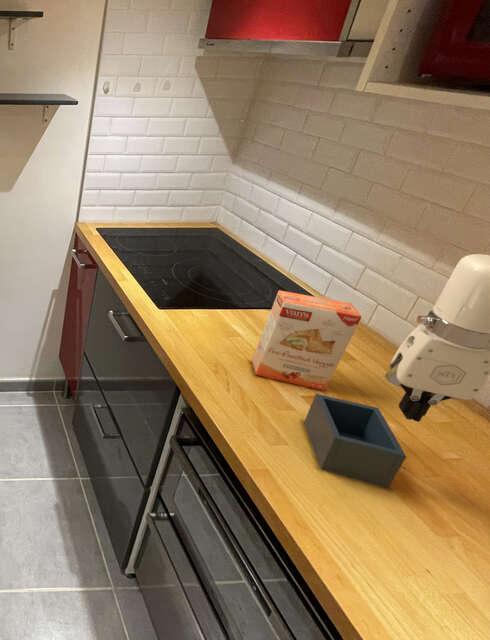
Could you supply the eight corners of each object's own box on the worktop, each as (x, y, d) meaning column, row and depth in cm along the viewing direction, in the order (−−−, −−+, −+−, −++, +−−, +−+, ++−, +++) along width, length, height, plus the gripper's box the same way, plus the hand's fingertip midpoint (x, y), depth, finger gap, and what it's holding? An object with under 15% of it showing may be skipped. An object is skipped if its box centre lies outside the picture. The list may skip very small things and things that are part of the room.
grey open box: (378, 407, 86) (315, 393, 90) (406, 456, 76) (335, 437, 80) (363, 438, 89) (303, 422, 93) (388, 488, 79) (320, 469, 83)
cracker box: (255, 376, 105) (284, 301, 96) (250, 361, 110) (277, 288, 102) (326, 393, 100) (363, 315, 92) (318, 376, 106) (352, 301, 97)
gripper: (410, 330, 71) (364, 416, 78) (539, 356, 65) (477, 445, 73) (390, 307, 77) (349, 388, 85) (506, 328, 72) (452, 413, 79)
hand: (408, 414), depth 79 cm, fingers closed
